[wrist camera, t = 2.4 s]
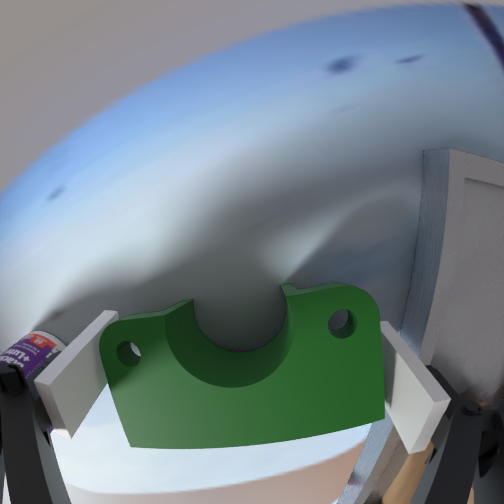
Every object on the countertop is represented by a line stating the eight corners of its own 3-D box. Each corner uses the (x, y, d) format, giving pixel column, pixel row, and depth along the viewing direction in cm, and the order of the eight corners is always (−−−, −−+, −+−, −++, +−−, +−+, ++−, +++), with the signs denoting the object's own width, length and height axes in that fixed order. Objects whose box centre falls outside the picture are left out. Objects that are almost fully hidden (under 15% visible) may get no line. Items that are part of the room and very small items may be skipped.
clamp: (298, 274, 20) (405, 269, 11) (311, 361, 20) (412, 401, 11) (105, 311, 15) (68, 345, 7) (131, 408, 15) (132, 505, 7)
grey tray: (335, 506, 20) (339, 526, 18) (423, 150, 14) (449, 148, 11) (452, 477, 20) (461, 491, 18) (555, 189, 14) (577, 192, 11)
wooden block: (380, 501, 19) (402, 573, 10) (431, 410, 16) (488, 501, 7) (431, 487, 19) (460, 549, 10) (488, 395, 16) (546, 464, 7)
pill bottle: (53, 317, 16) (-48, 404, 6) (99, 386, 17) (32, 493, 7) (14, 340, 16) (-68, 411, 7) (54, 399, 18) (-8, 483, 8)
